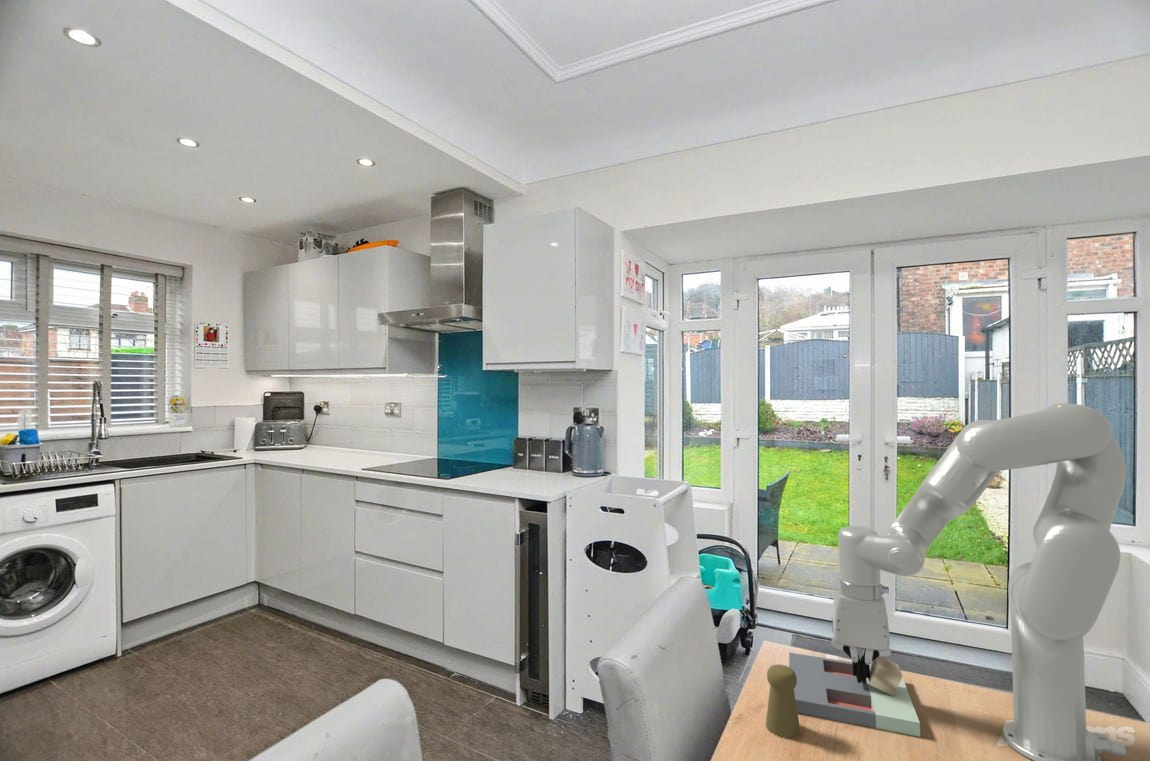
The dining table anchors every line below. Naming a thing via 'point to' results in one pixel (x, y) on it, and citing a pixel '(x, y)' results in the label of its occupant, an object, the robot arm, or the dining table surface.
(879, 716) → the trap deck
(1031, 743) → the robot arm
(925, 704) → the dining table surface
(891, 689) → the beech block
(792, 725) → the olive pawn
